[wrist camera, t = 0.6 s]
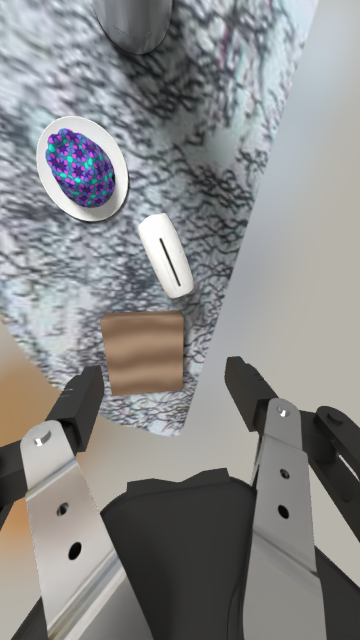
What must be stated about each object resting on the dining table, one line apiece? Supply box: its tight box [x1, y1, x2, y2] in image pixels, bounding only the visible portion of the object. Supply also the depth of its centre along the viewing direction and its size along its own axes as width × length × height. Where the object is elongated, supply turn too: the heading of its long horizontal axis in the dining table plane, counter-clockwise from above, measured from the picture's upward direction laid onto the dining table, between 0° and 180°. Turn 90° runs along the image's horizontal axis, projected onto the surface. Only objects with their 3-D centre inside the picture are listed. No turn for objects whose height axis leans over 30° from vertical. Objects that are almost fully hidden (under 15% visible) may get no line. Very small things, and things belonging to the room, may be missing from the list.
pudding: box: [36, 116, 128, 221], centre depth 24 cm, size 12×12×5 cm
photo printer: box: [138, 213, 194, 298], centre depth 26 cm, size 10×4×12 cm, turn 22°
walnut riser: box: [100, 310, 184, 396], centre depth 36 cm, size 16×14×4 cm
